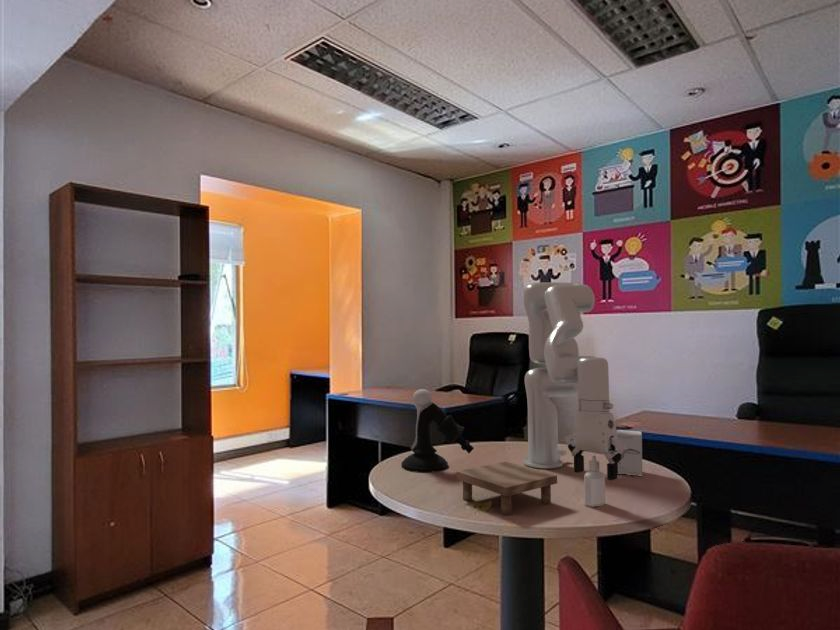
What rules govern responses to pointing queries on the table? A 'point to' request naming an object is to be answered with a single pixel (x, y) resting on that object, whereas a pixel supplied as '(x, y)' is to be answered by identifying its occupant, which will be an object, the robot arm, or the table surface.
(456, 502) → the table surface
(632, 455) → the supplement box
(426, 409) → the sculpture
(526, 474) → the walnut stool
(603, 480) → the eye dropper bottle
